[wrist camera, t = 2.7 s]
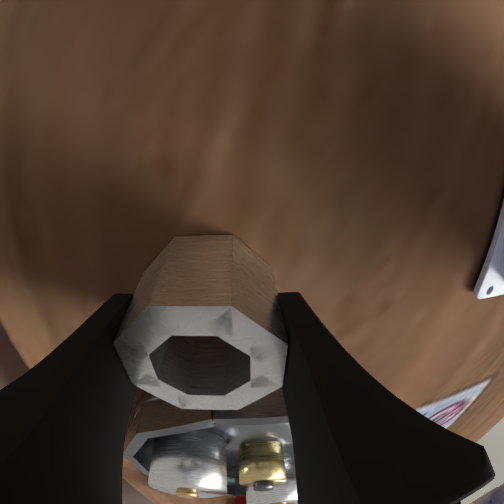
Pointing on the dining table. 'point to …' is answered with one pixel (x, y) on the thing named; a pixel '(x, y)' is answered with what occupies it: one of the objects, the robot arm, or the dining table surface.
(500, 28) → the dining table surface
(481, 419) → the dining table surface
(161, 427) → the carrier
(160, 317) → the octagonal tube
